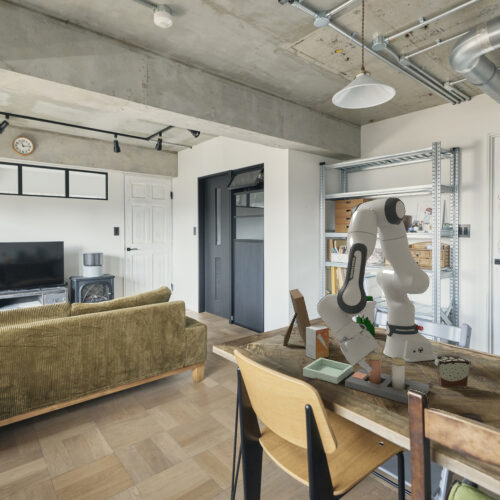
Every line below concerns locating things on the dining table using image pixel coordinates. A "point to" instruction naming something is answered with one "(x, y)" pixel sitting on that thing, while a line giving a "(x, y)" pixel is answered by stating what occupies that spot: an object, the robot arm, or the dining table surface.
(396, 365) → the cylinder
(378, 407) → the dining table surface
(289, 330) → the photo frame
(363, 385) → the block
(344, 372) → the tray
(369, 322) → the milk carton
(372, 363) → the marked fuse
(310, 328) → the small box
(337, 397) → the dining table surface
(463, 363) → the food container
